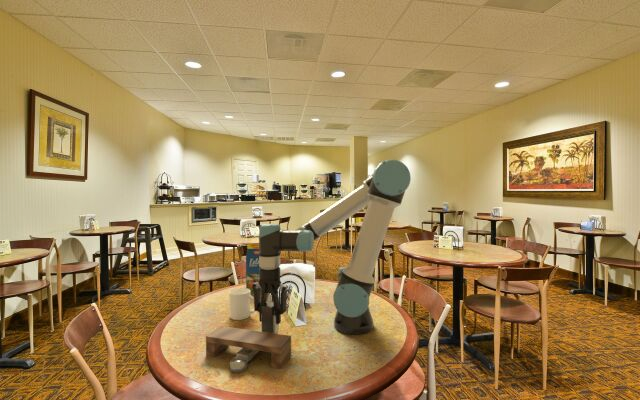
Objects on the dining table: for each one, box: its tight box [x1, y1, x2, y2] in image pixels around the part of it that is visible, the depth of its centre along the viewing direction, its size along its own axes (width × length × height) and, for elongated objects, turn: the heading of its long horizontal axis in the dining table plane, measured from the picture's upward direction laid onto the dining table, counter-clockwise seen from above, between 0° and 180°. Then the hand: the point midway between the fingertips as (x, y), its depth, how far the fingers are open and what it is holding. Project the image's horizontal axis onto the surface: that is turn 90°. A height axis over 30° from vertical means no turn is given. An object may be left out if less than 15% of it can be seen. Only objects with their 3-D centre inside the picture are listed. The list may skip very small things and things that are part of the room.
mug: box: [228, 287, 256, 321], centre depth 129 cm, size 9×12×11 cm
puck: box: [229, 356, 248, 374], centre depth 90 cm, size 5×5×2 cm
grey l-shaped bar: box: [235, 300, 279, 363], centre depth 103 cm, size 21×4×11 cm, turn 162°
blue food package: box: [245, 243, 262, 293], centre depth 166 cm, size 6×12×25 cm, turn 89°
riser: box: [205, 325, 292, 370], centre depth 98 cm, size 26×8×6 cm, turn 73°
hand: (270, 331), depth 110 cm, fingers closed on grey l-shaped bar, 4 cm apart
